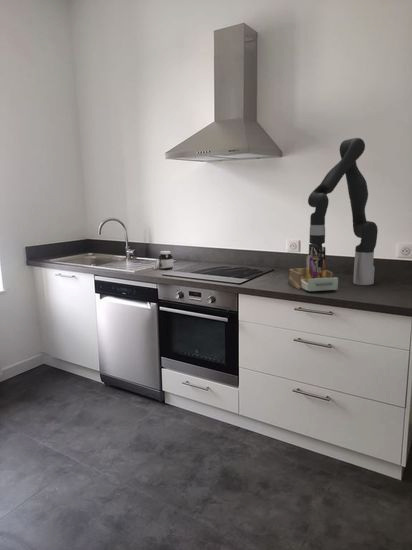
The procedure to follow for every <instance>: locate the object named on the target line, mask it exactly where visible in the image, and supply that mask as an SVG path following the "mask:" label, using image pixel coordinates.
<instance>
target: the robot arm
mask: <svg viewBox="0 0 412 550" xmlns="http://www.w3.org/2000/svg"><path fill="white" fill-rule="evenodd" d="M365 150H366V143H365V141H364V140H363V139H362V138H360V137H353V138H349V139H344V140H342V142H341V143H340V145H339V155H340V158H341V159H340V160H339V162H337V164H335V165H334V166H333V167H332V168H331V169H330V170H329V171H328V172H327V174H326V175H325V176H324V178H323V179H322V180H321V182H320V184H319V185H318V186H316V187H315V188H314V190H313V191H311V193H310V194H309V196H308V198H307V204H308V205H309V207H311V208H314V212H312V213H311V214H310V216H309V218H310V220H309V221H310V222H309V223H310V224H309V242H308V255H316V256H317V257H318V267H323V260H324V259H325V256H326V247H325V246H323V244H326V215H327V211H328V207H329V200H330V199H329V197H328V194H331V193H332V192H334V190H335V188H337V185H338V184H339V183H340V181H341V180H342V178H344V175H345V178H346V184H347V191H348V197H349V202H350V208H351V209H350V210H351V216H352V217H351V218H352V229H353V233H354V236H356V237H357V238H359V239H360V243H359V244H357V245H355V251H354V263H353V264H354V265H353V266H354V269H353V284H354V285H358V286H371V285H374V279H375V268H376V267H375V265H374V257H375V256H374V255H375V249H376V246H377V239H378V231H379V229H378V225H377V223H376V222H374V221H370V220H367V216H366V205H367V203H368V198H369V190H368V189H369V188H368V184H367V180H366V178H365V177H364V174H362V172H361V171H360V169H359V167H358V163H357V160H358V159H360V157H361V156H362V155H363V153H364V152H365ZM319 256H320V257H319Z"/></svg>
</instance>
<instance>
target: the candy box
mask: <svg viewBox="0 0 412 550" xmlns="http://www.w3.org/2000/svg"><path fill="white" fill-rule="evenodd" d="M319 257H320V256H319ZM326 265H327V255H325V259H324V260H323V267H318V257H317V256H316V255H309V254H308V255H307V254H306V267H305V268H306V283H308V279H315V278H325V275H326V270H327V269H326V267H327V266H326Z"/></svg>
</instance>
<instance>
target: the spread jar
mask: <svg viewBox="0 0 412 550" xmlns="http://www.w3.org/2000/svg"><path fill="white" fill-rule="evenodd" d="M157 257H158V258H155V261H154V263H153V270H158V268H159V269H160V270H162V271H170V270H172V269H173V268H174V257H173V255H172V253H171V250H160V251H159V254H158V256H157Z"/></svg>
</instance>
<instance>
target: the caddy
mask: <svg viewBox="0 0 412 550" xmlns="http://www.w3.org/2000/svg"><path fill="white" fill-rule="evenodd" d="M325 278H333V271H330V270H328V269H326V275H325ZM301 279H306V267H305V268H289V269H288V285H289V286H290V285H291V286H292V287H294V288H296V289H297V290H305V289H304V288H302V287H301Z"/></svg>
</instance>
